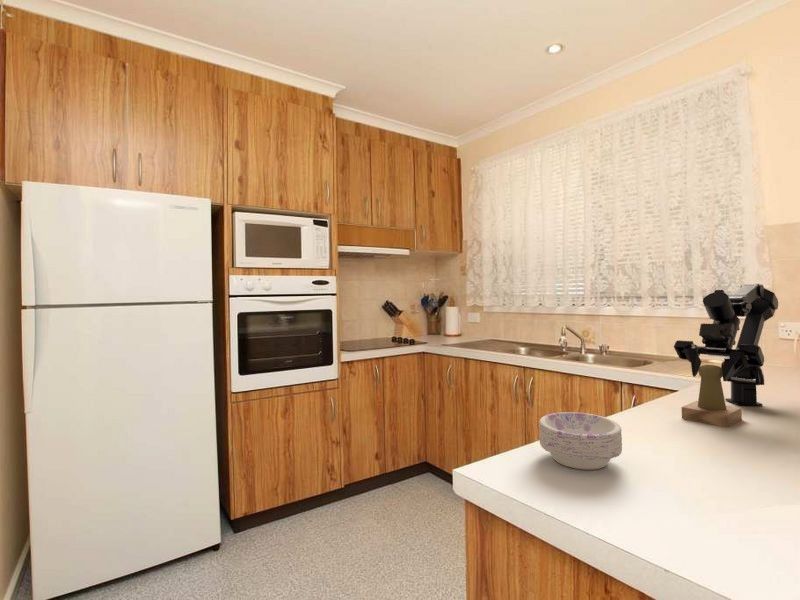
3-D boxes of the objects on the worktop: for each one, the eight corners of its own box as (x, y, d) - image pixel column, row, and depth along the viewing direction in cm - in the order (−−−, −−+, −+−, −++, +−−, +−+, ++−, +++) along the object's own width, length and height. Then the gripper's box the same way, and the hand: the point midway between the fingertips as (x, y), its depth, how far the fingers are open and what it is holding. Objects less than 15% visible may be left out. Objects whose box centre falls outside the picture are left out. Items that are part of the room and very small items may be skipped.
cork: (716, 404, 112) (714, 363, 112) (732, 410, 106) (730, 366, 106) (692, 404, 112) (691, 363, 112) (707, 410, 106) (705, 367, 106)
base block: (681, 418, 110) (681, 406, 110) (697, 411, 116) (696, 400, 116) (727, 427, 102) (727, 415, 102) (741, 419, 108) (741, 408, 108)
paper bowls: (565, 480, 75) (564, 436, 75) (527, 450, 90) (526, 414, 90) (641, 473, 78) (640, 430, 78) (591, 445, 93) (590, 409, 93)
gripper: (675, 311, 119) (659, 354, 113) (759, 312, 104) (745, 362, 97) (687, 337, 123) (672, 379, 117) (769, 341, 108) (757, 390, 102)
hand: (708, 377), depth 108 cm, fingers open, 6 cm apart
